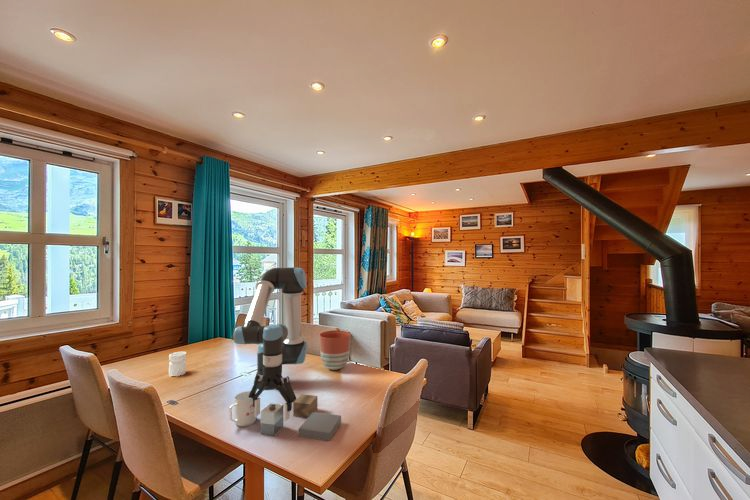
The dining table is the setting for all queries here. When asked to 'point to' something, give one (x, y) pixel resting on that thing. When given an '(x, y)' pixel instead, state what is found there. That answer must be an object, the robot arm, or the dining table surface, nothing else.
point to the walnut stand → (304, 405)
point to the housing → (271, 419)
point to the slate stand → (320, 426)
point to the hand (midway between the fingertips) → (272, 417)
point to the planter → (334, 348)
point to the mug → (243, 410)
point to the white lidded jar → (177, 364)
